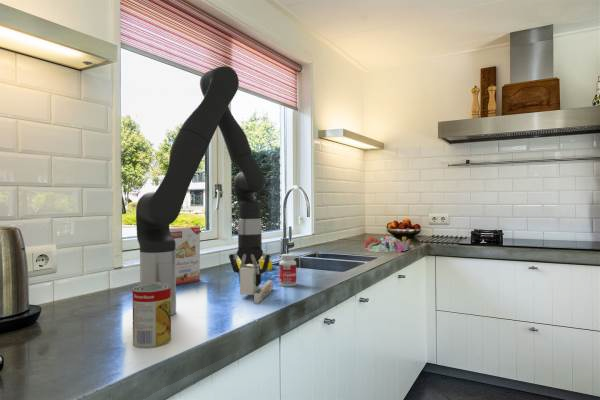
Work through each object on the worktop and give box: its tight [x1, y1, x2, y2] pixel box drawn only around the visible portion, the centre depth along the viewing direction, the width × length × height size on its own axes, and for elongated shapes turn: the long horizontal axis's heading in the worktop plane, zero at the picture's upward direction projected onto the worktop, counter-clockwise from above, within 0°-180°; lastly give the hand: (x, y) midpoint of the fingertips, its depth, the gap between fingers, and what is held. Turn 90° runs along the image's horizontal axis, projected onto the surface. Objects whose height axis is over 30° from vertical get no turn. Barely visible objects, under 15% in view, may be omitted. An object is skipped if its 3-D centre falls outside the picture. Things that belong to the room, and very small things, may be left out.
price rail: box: [253, 279, 274, 304], centre depth 133 cm, size 20×2×3 cm, turn 172°
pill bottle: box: [278, 253, 297, 287], centre depth 150 cm, size 6×6×11 cm
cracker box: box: [169, 225, 201, 285], centre depth 156 cm, size 14×6×21 cm, turn 141°
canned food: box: [132, 283, 172, 349], centre depth 91 cm, size 8×8×12 cm
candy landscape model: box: [364, 235, 411, 253], centre depth 247 cm, size 25×24×9 cm
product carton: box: [239, 264, 261, 296], centre depth 134 cm, size 4×10×8 cm, turn 172°
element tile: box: [236, 256, 273, 271], centre depth 187 cm, size 15×15×5 cm
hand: (250, 285), depth 134 cm, fingers closed on product carton, 4 cm apart
